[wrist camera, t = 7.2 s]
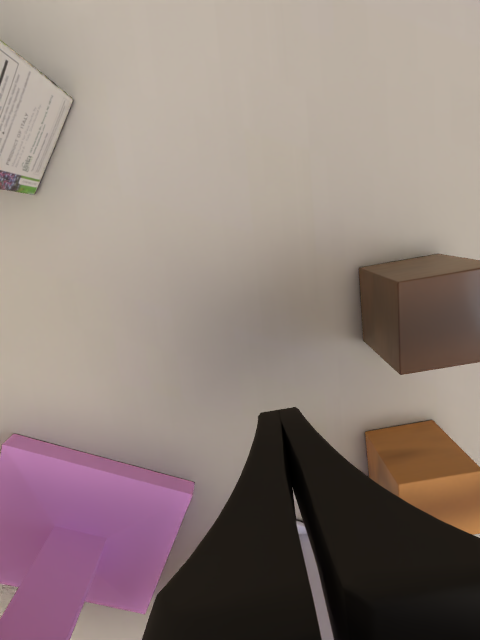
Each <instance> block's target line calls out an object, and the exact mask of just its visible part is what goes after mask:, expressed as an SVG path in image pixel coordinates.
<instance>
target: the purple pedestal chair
mask: <svg viewBox="0 0 480 640" xmlns="http://www.w3.org/2000/svg"><path fill="white" fill-rule="evenodd" d="M194 483H195V482H192V481H188V480H184V479H180V478H177V477H173V476H169V475H166V474H162V473H158V472H154V471H151V470H147V469H143V468H140V467H136V466H132V465H129V464H125V463H121V462H117V461H114V460H110V459H106V458H103V457H99V456H95V455H91V454H88V453H84V452H80V451H77V450H73V449H69V448H66V447H62V446H58V445H54V444H51V443H47V442H43V441H40V440H36V439H32V438H28V437H25V436H21V435H17V434H13V435H12V436H11V437H10V438H9V439H8V440H6V441H5V442H4V443H3V444H2V450H1V456H0V583H1V584H6V585H11V586H15V587H19V588H18V590H17V591H16V593H15V595H14V596H13V598H12V600H11V601H10V603H9V605H8V607H7V608H6V610H5V612H4V613H3V615H2V617H1V618H0V640H70V638H71V635H72V632H73V630H74V627H75V625H76V622H77V620H78V617H79V615H80V612H81V609H82V607H83V604H84V602H90V603H95V604H99V605H104V606H109V607H113V608H118V609H123V610H127V611H132V612H137V613H141V614H145V613H146V611H147V608H148V606H149V603H150V601H151V598H152V596H153V593H154V591H155V588H156V586H157V583H158V581H159V578H160V575H161V573H162V570H163V568H164V565H165V563H166V560H167V558H168V555H169V553H170V550H171V548H172V545H173V543H174V540H175V538H176V535H177V533H178V530H179V528H180V525H181V523H182V520H183V518H184V515H185V513H186V510H187V508H188V505H189V503H190V500H191V498H192V495H193V489H194Z"/></svg>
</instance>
